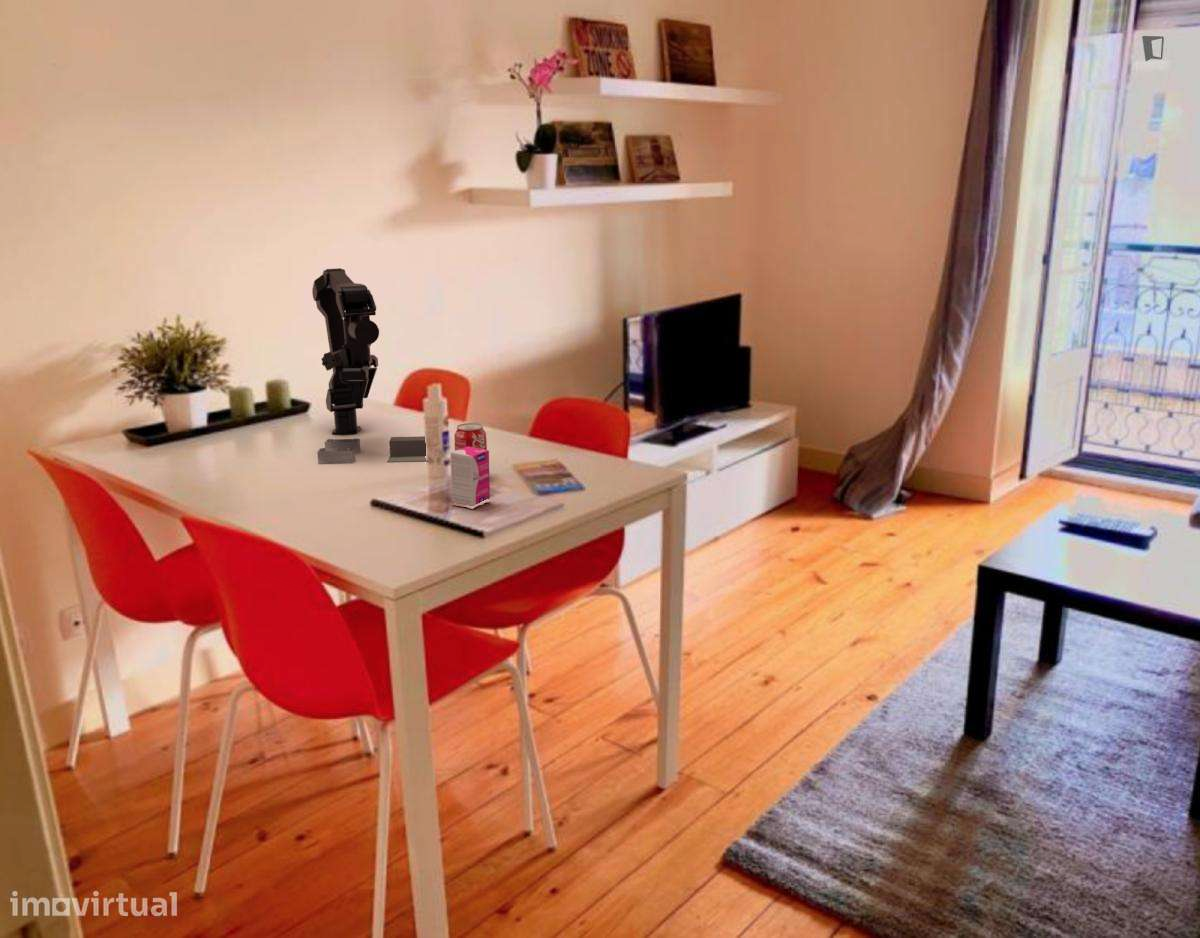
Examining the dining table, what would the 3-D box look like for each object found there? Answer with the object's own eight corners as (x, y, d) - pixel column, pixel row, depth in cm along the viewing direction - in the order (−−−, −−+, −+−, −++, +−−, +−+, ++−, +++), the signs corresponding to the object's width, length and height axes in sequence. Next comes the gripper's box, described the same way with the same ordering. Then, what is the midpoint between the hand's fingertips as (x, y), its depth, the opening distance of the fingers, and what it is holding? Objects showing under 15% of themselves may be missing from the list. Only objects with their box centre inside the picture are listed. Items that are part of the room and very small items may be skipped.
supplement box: (473, 510, 195) (471, 456, 192) (451, 505, 198) (448, 451, 195) (491, 502, 200) (489, 449, 196) (469, 497, 203) (466, 445, 199)
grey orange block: (392, 452, 235) (391, 437, 234) (437, 451, 236) (436, 436, 235) (390, 457, 232) (389, 441, 230) (436, 455, 232) (435, 439, 231)
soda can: (491, 473, 219) (488, 422, 215) (484, 483, 212) (482, 430, 209) (460, 472, 220) (457, 421, 216) (453, 482, 213) (450, 429, 209)
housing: (327, 451, 238) (326, 438, 237) (360, 450, 238) (359, 437, 237) (318, 463, 227) (317, 450, 226) (352, 462, 228) (351, 449, 227)
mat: (393, 449, 239) (393, 448, 238) (438, 448, 239) (438, 447, 239) (386, 462, 228) (386, 461, 228) (433, 461, 229) (433, 460, 229)
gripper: (330, 333, 239) (336, 394, 244) (314, 345, 222) (320, 411, 226) (376, 332, 240) (380, 393, 245) (363, 345, 222) (368, 410, 227)
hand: (362, 402), depth 236 cm, fingers open, 9 cm apart
